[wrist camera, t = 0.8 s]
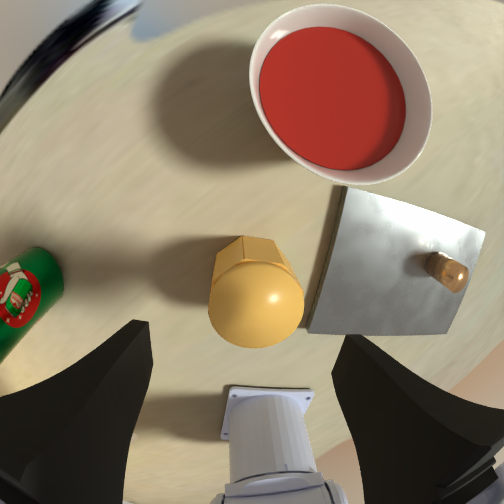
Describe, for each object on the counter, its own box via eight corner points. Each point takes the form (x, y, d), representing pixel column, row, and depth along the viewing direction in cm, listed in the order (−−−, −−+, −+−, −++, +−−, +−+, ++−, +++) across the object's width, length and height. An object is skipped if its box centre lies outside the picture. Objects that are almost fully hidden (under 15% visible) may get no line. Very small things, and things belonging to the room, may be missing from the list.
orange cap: (278, 308, 20) (291, 351, 15) (210, 299, 19) (204, 342, 14) (294, 243, 18) (314, 273, 13) (219, 232, 18) (214, 259, 13)
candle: (216, 127, 15) (205, 109, 9) (289, 26, 13) (312, -23, 7) (334, 201, 17) (380, 223, 11) (394, 101, 15) (451, 88, 9)
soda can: (29, 292, 18) (-49, 369, 7) (23, 239, 17) (-76, 304, 5) (70, 306, 19) (-7, 403, 7) (65, 250, 17) (-41, 334, 6)
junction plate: (442, 329, 22) (463, 351, 18) (305, 327, 20) (318, 360, 17) (480, 229, 19) (508, 242, 15) (343, 185, 17) (371, 193, 13)
